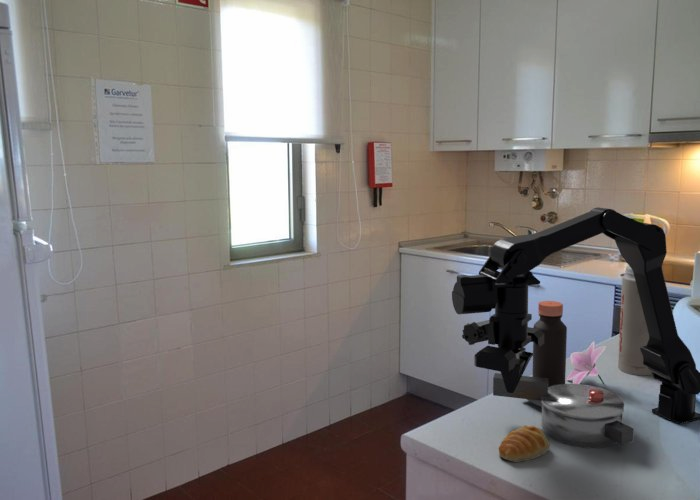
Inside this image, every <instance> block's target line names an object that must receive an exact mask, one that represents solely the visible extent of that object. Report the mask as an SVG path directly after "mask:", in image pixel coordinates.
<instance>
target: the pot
mask: <svg viewBox="0 0 700 500" xmlns="http://www.w3.org/2000/svg"><path fill="white" fill-rule="evenodd" d="M526 400H527V401H528V402H531V403H532V404H534V405H536V406H537V407H538V406H539V407H541V429H542V431H543V433H544V434H545V435H547V436H548V437H550V438H551V439H553V440H556V441H557V442H560V443H563V444H565V445H570V446H572V447H573V446H574V447H579V448H586V449H588V448H589V449H599V448H607V447H611V446H614V445H617V444H618V445H619V446H620V445H621V446H623V445H626V444H631V443H632V442H634V433H635V432H634V430H635V428H634V427H631V426H629V425H628V424H625V423H623V413H622V414H621V415H620V416H618V417H616V418H613V419H609V420H599V421H591V420H580V419H574V418H569V417H565V416H562V415H559V414H556V413H554V412H552V411H550V410H549V409H547V408H546V407H545V406H544V405H543V404H542V402H541V401H539V400H530V399H526Z"/></svg>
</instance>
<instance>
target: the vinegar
mask: <svg viewBox="0 0 700 500" xmlns="http://www.w3.org/2000/svg"><path fill="white" fill-rule="evenodd" d="M563 310H564V304H563V303H562V302H559V301H556V300H555V301H554V300H543V301H540V302H538V317H539V319H538V320H537V321H536V322H535V323H534V324H533V327H532V328H537V329H540V330H541V331H542V332H543V333H544V344H543V345H541V346H540V347H536V345H535V342H532V353H533V356H532V376H531V377H540V378H548V387H550V386H553V385H559V384H566V374H567V372H566V369H567V367H566V366H567V341H568V340H567V336H568V335H567V333H568V327H567V325H565V323H564V322H563V321H562V318H563V313H564V311H563Z"/></svg>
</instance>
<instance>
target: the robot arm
mask: <svg viewBox="0 0 700 500" xmlns="http://www.w3.org/2000/svg"><path fill="white" fill-rule="evenodd" d="M601 234H602V235H604V236H606V237H608V239H611V240H613V241H614V242H615V244H616V247H617V249H618V251H619V253H620V257H622V259H623V260H624V261H625V263H627V266H630V267H631V269H632V270H633V273H634V277H635V281H636V285H637V289H638V293H639V297H640V301H641V305H642V309H643V313H644V317H645V321H646V325H647V329H648V333H649V340H648V342H647V345H646V346H643V347H640V350H641V353H642V355H643V365H645V366H647V367H648V369H649V370H650V371H651V372H652V374H651V375H652V378H653V379H655V380H657V381H659V382H661V384H659V393H658V404H657V407H654V408H651V413H654V414H656V415H658V416H660V417H663V418H665V419H668V420H669V421H672V422H674V423H677V424H680V425H681V424H685V423H689V422H693V421H695V420H696V421H697V420H698V419H700V413H699V412H696V400H697V396H698V395H700V371H699V370H698V369H697V364H696V361H695V360H694V357H693V355H692V352H691V350H690V349H689V347H688V346H687V345H686V344H685V342H684V340H682V338H681V337H680V336H679V334H678V329H677V326H676V321H675V318H674V313H673V309H672V305H671V304H672V303H671V300H670V295H669V292H668V288H667V287H668V286H667V284H666V278H665V276H664V271H663V264H664V262H665V258H666V256H667V253H668V251H667V237H666V232H665V231H664V229H663V227H660V226H659V225H656V224H654V223H647V222H641V221H638V220H636V219H633V218H631V217H628V216H626V215H624V214H621V213H620V212H618V211H616V210H615V209H612V208H605V207H598V206H597V207H594V208H592V209H591V210H589V211H588V212H585V213H583V214H579V215H578V216H576V217H573V218H570V219H568V220H565V221H563V222H560V223H559V224H555V225H553V226H551V227H548V228H546V229H544V230H541V231H538V232H535V233H530V234H519V235H514V236H511V237H504V238H501V239H499V240H497V241H495V243H494V244H493V246H492V249H491V251H490V255H489V257H488V258H487V259H486V260H485V263H484V264H483V265H482V267H481V269H480V270H479V271H478V274H476V275H473V274H472V275H468V274H467V275H465V274H460V275H459V274H458V275H457V276H456V282H455V283H454V285H453V288H452V291H451V301H452V307H453V309H454V312H455V313H456V314H457V315H468V314H469V315H470V314H481V313H482V314H483V313H490V312H492V310H494V314H492V315H490V316H489V319H486V320H482V321H478V322H475V321H473V322H471V323H470V322H468V323H466V324H464V325H463V330H462V335H461V338H462V339H464V340H465V341H466V342H467V343H468V345H469V346H472V345H473V346H474V345H475V344H476V343H477V344H478V343H483V342H486V341H487V343H488V345H486V346H485V347H483V348H481V349H480V350H479V351H478V352H476V353H475V354H474V357H473V358H474V366H475V368H479V369H480V368H481V369H486V370H492V371H496V372H500V374H501V375H502V378H503V381H504V384H505V387H506V390H507V392H508V393H513V392H514V391H515V389H516V387H517V385H518V383H519V381H520V379H521V377H522V376H524V375H523V374H524V372H525V370H526V369H527V366H528V365H529V363H530V361H531V359H532V358H533V352H530V351H526V349H527V348H526V346H527V345H528V344H530V343H533V342H535V345H536V347H540V346H541V345H543V344H544V333H543V332H542V331H541V330H540V329H537V328H533V327H530V326H529V325H528V324H529V322H530V321H531V320H532V316H533V314H532V313H529V286H538V285H540V284H541V281H540V280H539V279H538V278H537V277H536V276H535V275H534V274H533V272H532V270H533V269H535V268H537V267H538V266H540V265H541V264H542V263H543V262H544V261H545V259H547V258H548V257H549V256H551V255H553V254H555V253H557V252H560V251H562V250H565V249H566V248H570V247H572V246H574V245H576V244H579V243H582V242H584V241H586V240H588V239H591V238H593V237H596V236H599V235H601ZM498 270H501V271H498ZM493 345H494V346H493ZM496 345H497V346H496Z"/></svg>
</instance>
